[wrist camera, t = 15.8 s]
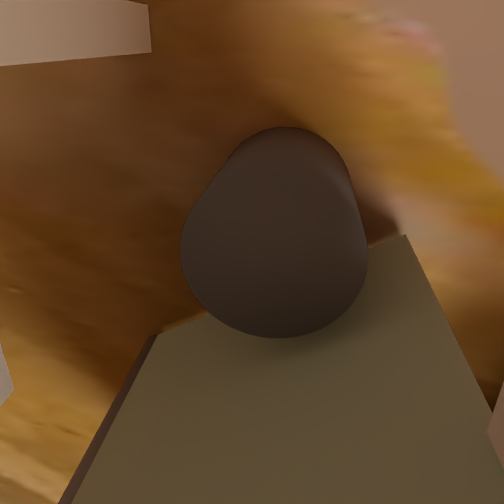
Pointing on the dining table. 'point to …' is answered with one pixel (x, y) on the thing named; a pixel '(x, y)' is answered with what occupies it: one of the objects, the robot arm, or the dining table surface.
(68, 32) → the door frame
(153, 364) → the door
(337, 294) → the dark brown cylinder
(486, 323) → the dining table surface
